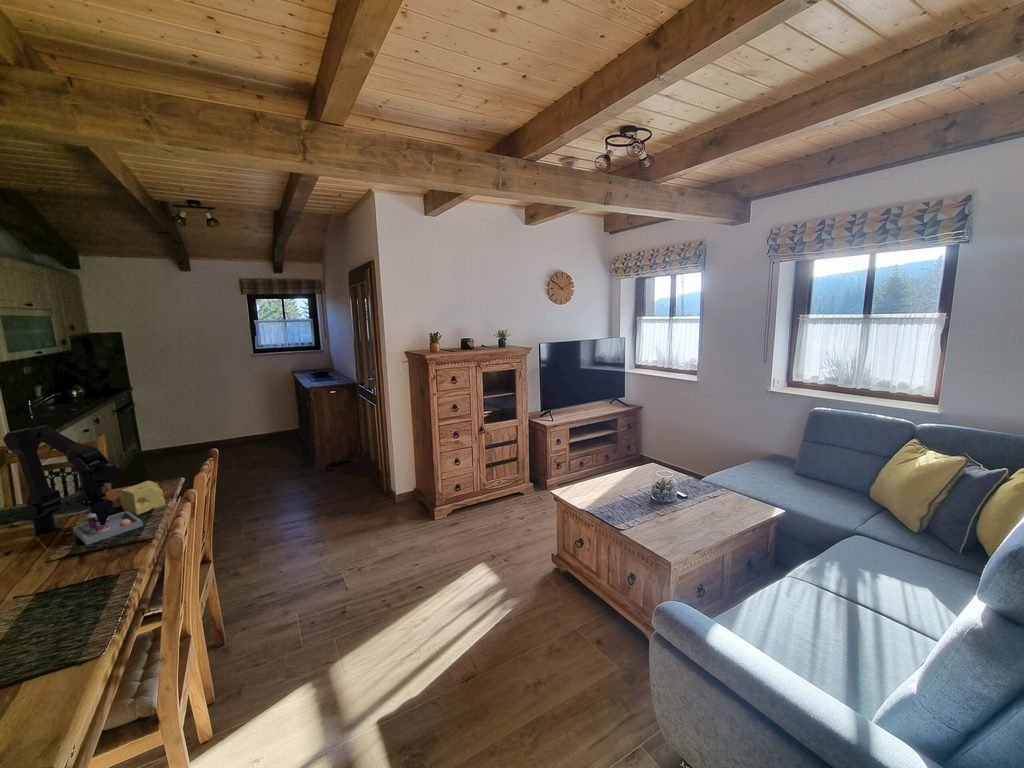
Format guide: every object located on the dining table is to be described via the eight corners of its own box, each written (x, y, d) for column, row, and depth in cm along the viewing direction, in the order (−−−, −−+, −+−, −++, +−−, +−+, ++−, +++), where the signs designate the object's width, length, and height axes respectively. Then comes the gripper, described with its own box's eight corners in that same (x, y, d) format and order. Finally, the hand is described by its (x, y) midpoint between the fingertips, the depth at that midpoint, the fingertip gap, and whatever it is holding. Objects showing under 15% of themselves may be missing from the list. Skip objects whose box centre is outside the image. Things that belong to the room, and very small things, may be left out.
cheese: (166, 505, 183) (162, 483, 182) (135, 517, 174) (131, 493, 172) (152, 501, 188) (148, 479, 186) (122, 512, 178) (117, 489, 176)
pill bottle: (98, 534, 159) (93, 510, 157) (86, 533, 160) (81, 509, 158) (114, 527, 164) (109, 503, 162) (103, 526, 165) (98, 502, 163)
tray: (73, 534, 161) (72, 527, 161) (128, 516, 174) (127, 510, 174) (86, 546, 152) (85, 539, 152) (143, 527, 165) (142, 520, 165)
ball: (119, 528, 164) (117, 520, 163) (129, 524, 166) (128, 516, 166) (122, 530, 162) (120, 522, 161) (132, 526, 165) (131, 518, 164)
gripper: (53, 484, 157) (62, 524, 160) (67, 496, 147) (76, 538, 150) (94, 474, 166) (102, 512, 169) (110, 484, 156) (118, 524, 159)
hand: (99, 521), depth 161 cm, fingers open, 9 cm apart
